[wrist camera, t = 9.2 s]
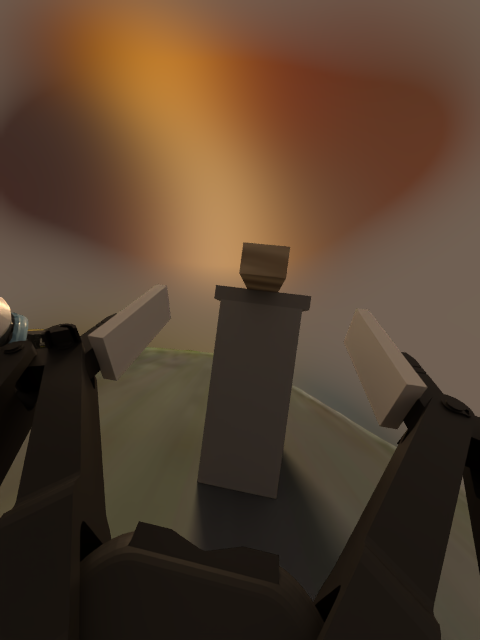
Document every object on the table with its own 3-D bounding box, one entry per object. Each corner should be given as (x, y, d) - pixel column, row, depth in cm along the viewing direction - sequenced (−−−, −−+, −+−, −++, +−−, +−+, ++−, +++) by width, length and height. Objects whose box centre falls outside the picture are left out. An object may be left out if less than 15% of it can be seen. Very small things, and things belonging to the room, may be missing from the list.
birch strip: (285, 278, 21) (290, 246, 21) (239, 273, 21) (243, 242, 21) (272, 301, 49) (274, 288, 49) (252, 299, 49) (254, 286, 49)
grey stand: (283, 500, 32) (311, 296, 31) (190, 480, 33) (216, 285, 33) (275, 435, 50) (293, 304, 49) (216, 424, 51) (232, 297, 51)
